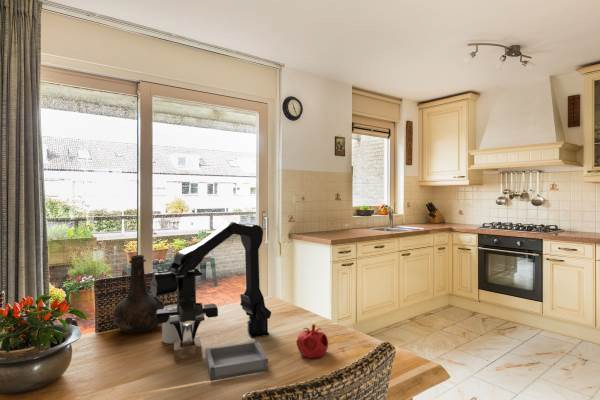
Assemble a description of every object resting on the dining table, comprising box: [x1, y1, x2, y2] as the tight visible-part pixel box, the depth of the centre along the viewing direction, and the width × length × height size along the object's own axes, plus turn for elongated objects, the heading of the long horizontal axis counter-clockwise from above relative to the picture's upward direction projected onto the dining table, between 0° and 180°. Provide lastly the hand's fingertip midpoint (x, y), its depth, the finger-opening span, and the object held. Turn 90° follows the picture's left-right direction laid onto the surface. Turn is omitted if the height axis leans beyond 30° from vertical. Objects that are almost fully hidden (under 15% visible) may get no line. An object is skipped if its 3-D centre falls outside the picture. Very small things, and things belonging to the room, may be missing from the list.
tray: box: [205, 340, 269, 382], centre depth 109 cm, size 16×14×4 cm
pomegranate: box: [295, 323, 329, 359], centre depth 116 cm, size 10×10×9 cm
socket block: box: [173, 336, 203, 361], centre depth 117 cm, size 8×8×4 cm
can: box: [161, 304, 186, 345], centre depth 128 cm, size 8×8×12 cm
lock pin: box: [182, 322, 193, 347], centre depth 117 cm, size 3×3×9 cm
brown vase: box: [112, 254, 165, 334], centre depth 139 cm, size 18×18×28 cm
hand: (187, 340), depth 117 cm, fingers closed on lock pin, 3 cm apart
